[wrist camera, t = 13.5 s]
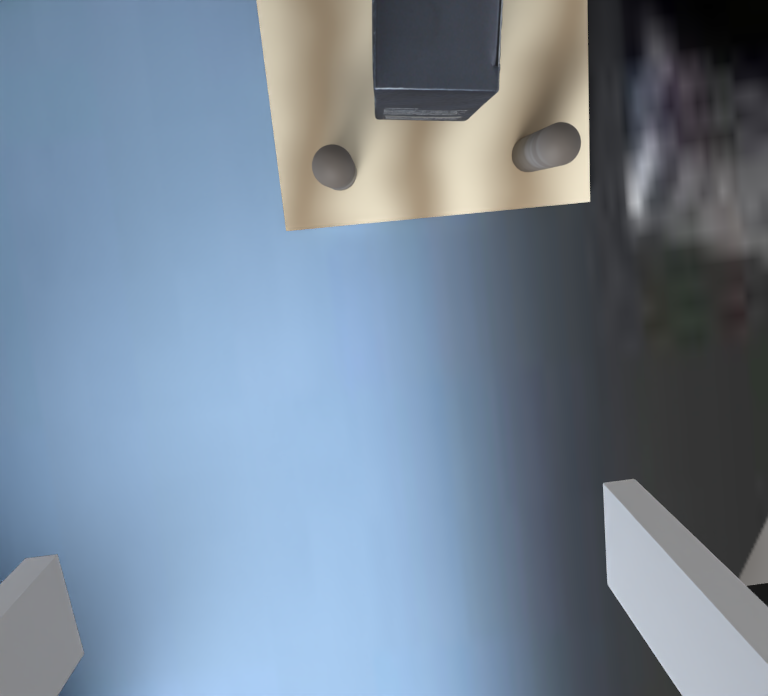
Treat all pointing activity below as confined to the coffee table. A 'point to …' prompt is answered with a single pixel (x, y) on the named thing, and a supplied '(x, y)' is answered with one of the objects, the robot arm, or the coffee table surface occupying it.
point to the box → (435, 57)
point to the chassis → (423, 138)
